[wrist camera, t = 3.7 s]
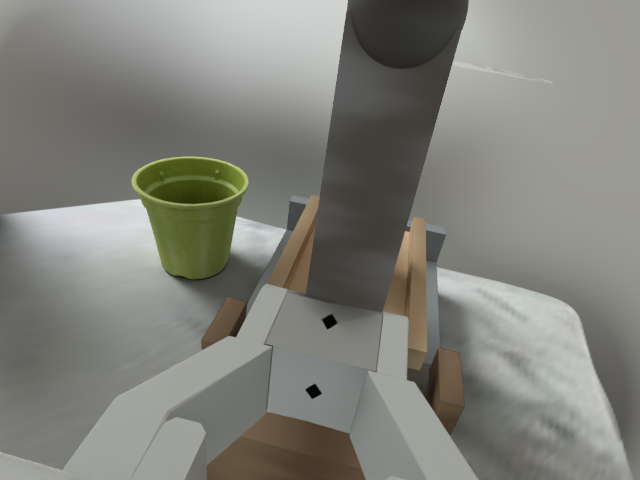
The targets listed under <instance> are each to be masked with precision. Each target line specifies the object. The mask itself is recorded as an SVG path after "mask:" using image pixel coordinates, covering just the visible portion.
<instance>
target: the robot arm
mask: <svg viewBox="0 0 640 480" xmlns="http://www.w3.org/2000/svg"><path fill="white" fill-rule="evenodd" d="M408 336H409V319H408V317H406V316H401V315H396V314H392V313H387V312H383V313H382V312H380V311H376V310H371V309H367V308H362V307H358V306H354V305H349V304H345V303H341V302H336V301H333V300H329V299H325V298H321V297H317V296H313V295H309V294H306V293H302V292H298V291H294V290H288V289H285V288H281V287H277V286H273V285H269V284H265V285H264V286H263V287H262V288H261V290H260V292H259V294H258V296H257V298H256V300H255V302H254V304H253V306H252V308H251V309H250V311H249V313H248V315H247V317H246V319H245V321H244V323H243V325H242V327H241V329H240V331H239V333H238V335H237V337H232V336H228V337H226V338H224V339H222V340H220V341H218V342H216V343H215V344H213V345H211V346H209V347H207V348H205V349H204V350H202V351H200V352H198V353H196V354H194V355H192V356H191V357H189V358H187V359H185V360H183V361H181V362H179V363H178V364H176V365H174V366H172V367H170V368H168V369H167V370H165V371H163V372H161V373H159V374H157V375H155V376H154V377H152V378H150V379H148V380H146V381H144V382H143V383H141V384H139V385H137V386H135V387H133V388H131V389H130V390H128V391H126V392H124V393H122V394H120V395H118V396H117V397H115V398H114V399H113V401H112V402H111V404H110V405H109V406H108V408H107V409H106V410H105V412H104V413H103V414H102V416H101V417H100V418H99V420H98V421H97V423H96V424H95V425H94V427H93V428H92V429H91V431H90V432H89V433H88V435H87V436H86V438H85V439H84V440H83V442H82V443H81V444H80V446H79V447H78V448H77V450H76V451H75V452H74V454H73V455H72V457H71V458H70V459H69V461H68V462H67V463H66V465H65V466H64V467H63V469H62V470H61V469H57V468H54V467H51V466H47V465H44V464H40V463H37V462H34V461H30V460H27V459H23V458H20V457H17V456H13V455H10V454H6V453H3V452H0V480H207V465H208V464H209V463H210V462H211V461H212V460H214V459H215V458H216V457H217V456H218V455H219V454H220V453H222V452H223V451H224V450H225V449H226V448H227V447H228V446H230V445H231V444H232V443H233V442H234V441H235V440H236V439H238V438H239V437H240V436H241V435H242V434H243V433H244V432H246V431H247V430H248V429H249V428H250V427H251V426H252V425H254V424H255V423H256V422H257V421H258V420H259V419H260V418H262V417H263V416H264V415H265V414H266V412H271V413H275V414H279V415H283V416H288V417H292V418H296V419H300V420H304V421H308V422H312V423H315V424H319V425H322V426H325V427H329V428H332V429H336V430H339V431H342V432H346V433H349V434H350V439H351V441H352V444H353V447H354V449H355V452H356V455H357V457H358V460H359V463H360V466H361V468H362V471H363V474H364V476H365V479H366V480H479V479H478V478H477V476H476V475H475V473H474V472H473V470H472V469H471V467H470V466H469V464H468V463H467V461H466V460H465V458H464V457H463V455H462V454H461V452H460V451H459V449H458V448H457V446H456V444H455V443H454V441H453V440H452V438H451V437H450V435H449V434H448V432H447V431H446V429H445V428H444V426H443V425H442V423H441V422H440V420H439V419H438V417H437V416H436V414H435V412H434V411H433V409H432V408H431V406H430V405H429V403H428V402H427V400H426V399H425V397H424V396H423V394H422V393H421V391H420V390H419V388H418V387H417V385H416V384H415V382H412V381H408V380H407V364H408Z"/></svg>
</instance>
